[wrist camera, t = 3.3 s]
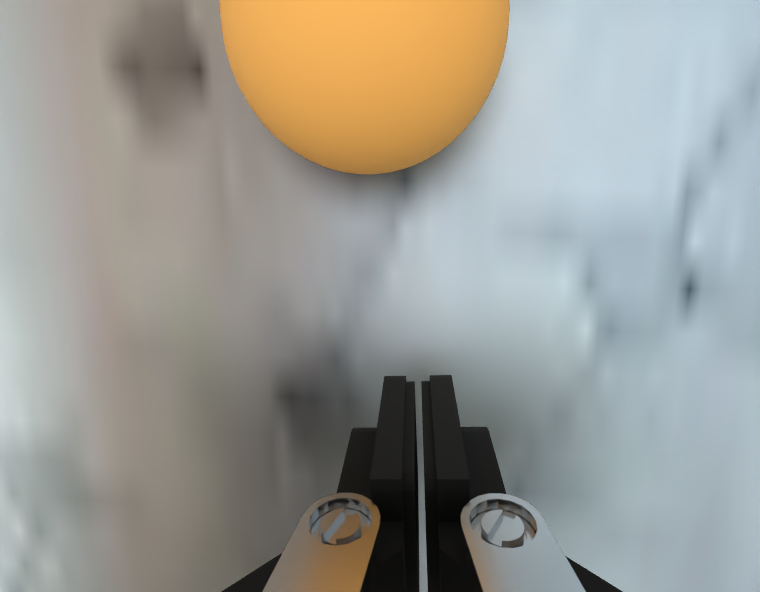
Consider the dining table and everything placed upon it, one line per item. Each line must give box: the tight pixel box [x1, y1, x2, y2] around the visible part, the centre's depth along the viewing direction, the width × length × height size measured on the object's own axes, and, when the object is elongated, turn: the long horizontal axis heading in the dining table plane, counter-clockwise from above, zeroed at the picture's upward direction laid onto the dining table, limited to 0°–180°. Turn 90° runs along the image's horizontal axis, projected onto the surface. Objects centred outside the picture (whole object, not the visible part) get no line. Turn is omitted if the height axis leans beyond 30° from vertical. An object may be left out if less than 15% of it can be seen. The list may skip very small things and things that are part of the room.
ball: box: [220, 0, 510, 174], centre depth 10 cm, size 6×6×6 cm
